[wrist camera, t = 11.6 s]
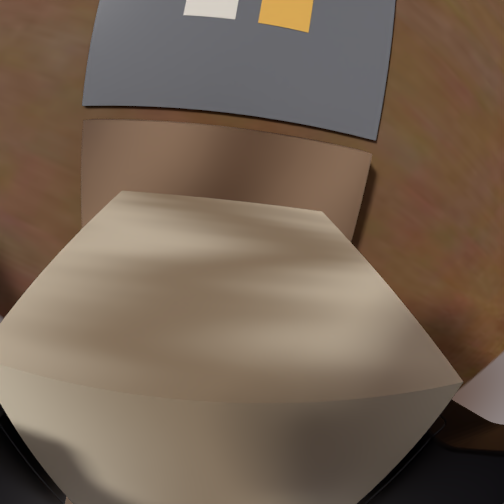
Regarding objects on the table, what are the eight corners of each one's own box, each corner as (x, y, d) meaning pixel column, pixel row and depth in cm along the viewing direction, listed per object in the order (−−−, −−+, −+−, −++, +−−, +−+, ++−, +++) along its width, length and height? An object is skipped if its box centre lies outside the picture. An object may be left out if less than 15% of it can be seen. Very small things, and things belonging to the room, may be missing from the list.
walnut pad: (361, 150, 11) (372, 153, 10) (305, 355, 15) (310, 369, 15) (93, 119, 10) (83, 120, 9) (103, 340, 14) (97, 353, 13)
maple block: (322, 211, 10) (463, 381, 3) (284, 359, 12) (326, 528, 6) (121, 190, 9) (-24, 356, 2) (128, 348, 11) (90, 520, 5)
